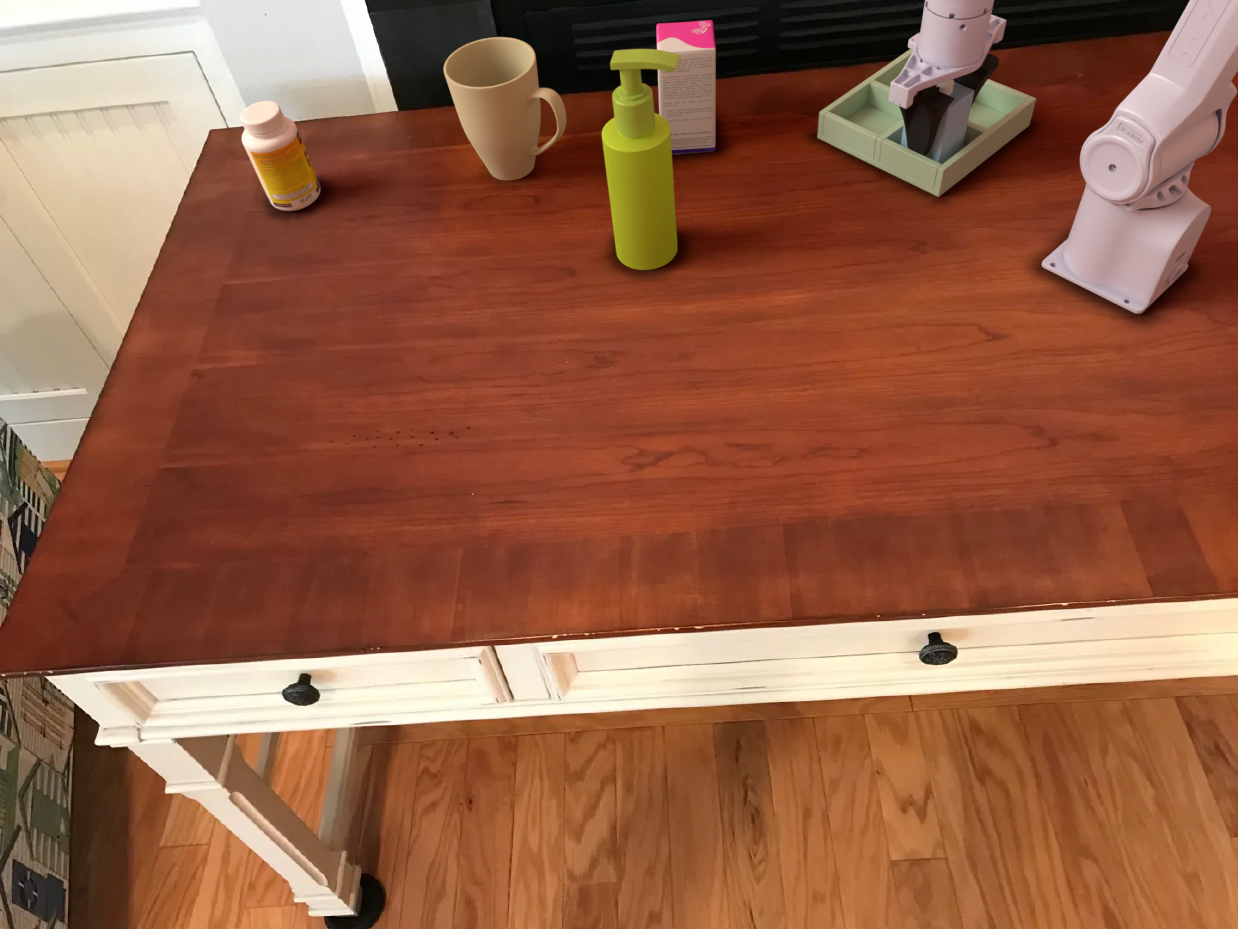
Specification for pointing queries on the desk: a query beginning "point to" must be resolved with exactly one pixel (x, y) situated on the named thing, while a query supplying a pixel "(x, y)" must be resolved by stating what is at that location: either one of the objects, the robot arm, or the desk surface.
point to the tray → (877, 125)
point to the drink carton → (950, 123)
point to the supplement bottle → (279, 157)
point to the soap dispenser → (640, 164)
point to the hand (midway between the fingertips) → (933, 138)
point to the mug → (501, 103)
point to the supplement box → (689, 85)
